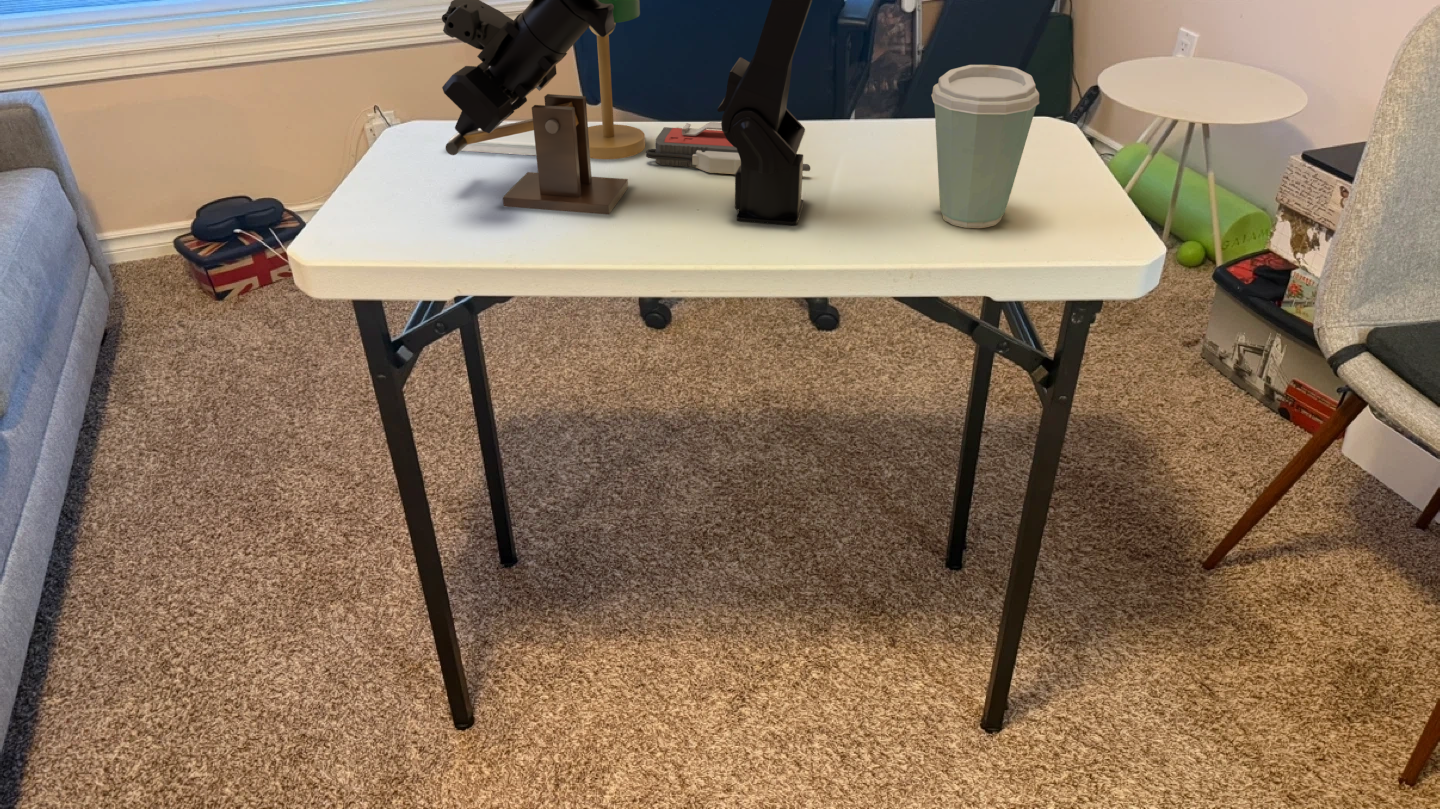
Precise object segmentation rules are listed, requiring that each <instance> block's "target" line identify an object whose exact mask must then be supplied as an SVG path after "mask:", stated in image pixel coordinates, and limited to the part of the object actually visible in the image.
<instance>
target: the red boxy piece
mask: <svg viewBox="0 0 1440 809" xmlns="http://www.w3.org/2000/svg"><path fill="white" fill-rule="evenodd" d="M691 126H692V124H691V123H688V122H686V123H685V124H684V125H683V127H666V126H665V127H663V128H662V129H661V130H660V132H659V133H658V135H657V136H656V138H655V141H654V143H655V148H649V149H647V150H645V157H646V158H647V159H652V160H655V163H657V164H658V165H660V166H668V167H670V166H673V167H684V168H685V167H686V168H696V169H699V170H701V171H703V172H706V173H711V174H725V175H726V174H728V175H729V174H730V175H735V174H736V172H737V170H738V168H739V166H740V165H741V159H740V156H739V154H738V151H737V148H736V147H734V146H733V145H732V144H731V143H730V142H729V141H728V140H727V138H726V136H725V135H724V133H723V131H722V127H721V122H719V121H709V122H708V123H706V124H704V125H703V126H701V127H699V128H693V127H692V128H691ZM810 171H811V166H810V165H809V164H808V163H803V172H810Z"/></svg>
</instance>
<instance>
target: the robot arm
mask: <svg viewBox="0 0 1440 809" xmlns="http://www.w3.org/2000/svg"><path fill="white" fill-rule="evenodd" d="M812 3H813V0H771V2H770V5H769V8H768V11H767V15H766V18H765V20H764V24H763V27H762V30H761V33H760V36H759V40H758V43H757V45H756V48H755V51H754V55H753V56H752V58H751V60H750V61H748V60H746V59H744V58H743V57H741V56H740V57H739V58H738V59H737V61H736V62H735V63H734V65H733V66H732V68H731V70H730V71H729V73H728V77H727V84H726V92H725V96H724V98H723V99H722V101H721V103H720V104H719V106H718V107H717V109H716V111H717V112H718V113H722V112H723V113H722V116H721V122H720V123H721V127H722V130H721V131H723V133H724V135H725V136H726V138H727V140H728V141H729V142H730V143H731V144H732V145H733V146H734V147H736V148H737V151H738V154H739V156H740V159H741V165H740V166H739V168H738V170H737V172H736V174H734V209H735V210H736V211H738V212H737V214H736V221H737V222H740V223H741V222H742V223H753V224H754V223H756V224H767V225H768V224H769V225H780V226H797V225H798V223H799V220H800V217H801V213H802V210H803V207H804V203H805V201H804V199H802V192H803V172H804V171H803V164H804V154H802V153H798V151H799V148H800V146H801V143H802V140H803V137H804V135H805V132H806V128H805V126H803V124H802V123H801V122H800V121H799V120H798V119H797V118H796V116H794V114H792V113H791V111H790V110H789V109H788V108H787V107H788V106H787V105H788V98H789V92H790V86H791V78H792V68H793V59H794V55H795V52H796V49H797V46H798V44H799V41H800V37H801V36H802V32H803V29H804V26H805V23H806V20H807V17H808V14H809V11H810V8H811V5H812ZM613 9H614V5H613V4H604V3H601V2H599V1H598V0H531V2H530V3H529V4H528V5H527V7H526V8H525V9H524V10H522V12H521V13H519V14H518V15H517V16H516V17H515V18H514V19H513V18H511V17H509V16H508V15H505V13H504V12H502V11H500V10H499V9H497V8H495V7H493V6H491V5H489V4H487V3H486V2H483V1H482V0H451V2H450V4H449V5H448V8H447V11H446V12H445V13H444V14H442V16H441V21H442V22H443V23H444V25H443V29H442V31H443V33H444V34H445V35H446V36H448V37H450V38H451V39H454V38H455V39H456V40H459V41H460V42H462V43H464V44H467V45H469V46H471V47H473V48H475V49H477V50H481V51H480V52H479V53H478V55H477V58H478V59H479V60H480V61H481V62H480V63H478V64H477V66H476V65H464V66H463V67H462V68H460V69H459V70H457V71H456V72H455V73H453V74H451V76H450V77H449V78H448V79H447V81H446V82H445V83H444V84H443V86H442V87H441V89H442V91H443V94H444V95H445V96H446V97H447V98H448V99H449V100H450V101H452V103H453V104H454V105H456V106H457V108H458V109H460V110H461V112H460V114H459V117H458V119H457V122H456V124H455V126H454V130H455V131H456V133H457V132H458V133H459V134H461V135H464V134H467V133H469V132H472V131H474V130H477V129H479V128H480V129H481V130H482V131H484V132H487V133H491V132H492V131H493V130H494V129H495V128H496V127H498V126H499V125H500V124H501V123H502V122H504V121H505V120H507V119H508V118H509V117H510V116H512V114H514V113H515V111H516V110H518V109H520V108H521V107H522V106H523V105H525V104H526V103H527V102H528V99H527V96H528V95H529V94H531V93H532V92H533V91H534V90H535V89H537V90H538V91H539V92H540V91H542V90H543V89H544V88H545V87H546V86H547V85H548V84H549V83H550V82H552V80H553V79H554V77H556V76H557V74H558V73H557V65H558V64H559V63H560V62H561V61H562V60H563V59H564V58H565V57H566V56H567V55H568V52H569V50H570V49H571V48H572V47H573V46H574V45H575V43H577V41H578V40H579V39H580V38H581V37H582V36H583V35H584V34H585V33H586V31H587V30H588V29H590V28H589V27H590V26H591V27H592V28H593V29H594V30H595V31H596V32H597V33H598V34H599V35H600V36H601V37H605V36H606V35H607V34H608V33H610V32H611V31H612V30H613V29H614V30H615V29H616V24H614V18H613ZM614 30H613V31H614Z"/></svg>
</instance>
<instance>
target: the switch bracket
mask: <svg viewBox="0 0 1440 809" xmlns="http://www.w3.org/2000/svg"><path fill="white" fill-rule="evenodd" d="M543 98H544V105H542V104H533V106H532V107H531V116H532V119H533V127H534V137H535V147H536V156H535V157H536V165H537V167H536V168H537V172H533V171H527V172H526V173H525V174H524V175H523V176H522V177H521V178H520V179H519V180H518V181H517V182H516V183H515V184H514V185H513V186H512V187H511V188H510V189H509V190H508V191H507V192H506V193H505V195H503V196H502V203H503V207H508V208H519V209H532V210H533V209H534V210H545V211H557V212H571V213H582V214H584V213H585V214H595V215H608V216H609V215H610V214H611V212H612V211H613V210H614V208H615V207H616V206H617V205H618V203H619V202H620V200H621V199H622V197H623V196H624V195H625V193H626V192H627V191H628V189H629V179H628V178H616V177H603V176H602V177H601V176H592V166H591V158H590V149H589V135H588V127H589V122H588V109H587V96H585V95H569V94H550V93H547V94H545V95H544V96H543ZM570 102H572V104H573V107H562V106H556V105H561V104H565V103H570ZM575 113H576V116H577V119H578V122H579V124H578V125H577V126H576V120H575Z"/></svg>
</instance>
